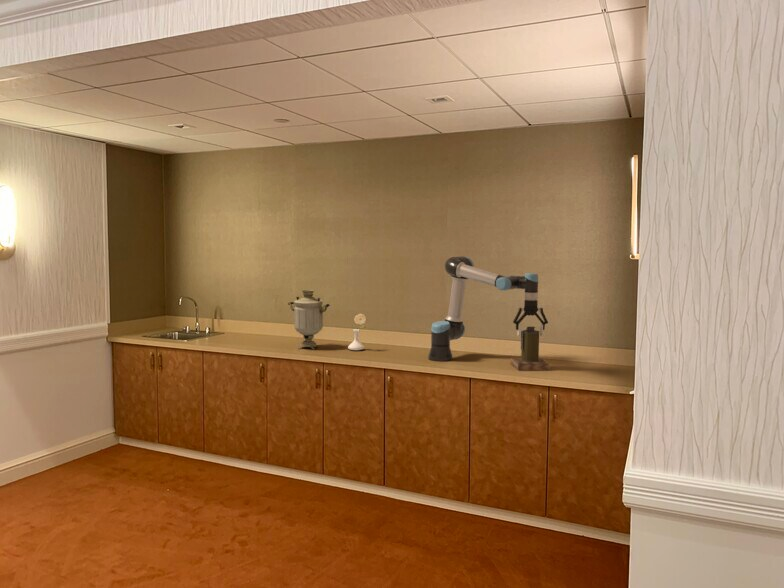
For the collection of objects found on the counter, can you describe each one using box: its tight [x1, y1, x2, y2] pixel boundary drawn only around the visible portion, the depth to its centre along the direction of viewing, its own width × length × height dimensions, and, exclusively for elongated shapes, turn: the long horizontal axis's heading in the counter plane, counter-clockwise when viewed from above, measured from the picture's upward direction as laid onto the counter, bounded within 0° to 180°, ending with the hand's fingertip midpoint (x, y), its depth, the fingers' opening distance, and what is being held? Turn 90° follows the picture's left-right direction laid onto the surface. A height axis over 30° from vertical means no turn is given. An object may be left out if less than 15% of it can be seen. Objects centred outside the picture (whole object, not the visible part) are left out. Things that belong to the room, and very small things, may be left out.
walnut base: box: [510, 357, 550, 371], centre depth 356 cm, size 18×18×4 cm
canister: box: [520, 326, 540, 362], centre depth 355 cm, size 11×10×20 cm
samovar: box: [287, 289, 330, 350], centre depth 418 cm, size 30×26×40 cm
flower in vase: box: [347, 313, 367, 351], centre depth 408 cm, size 13×11×25 cm
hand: (530, 335), depth 355 cm, fingers open, 13 cm apart
